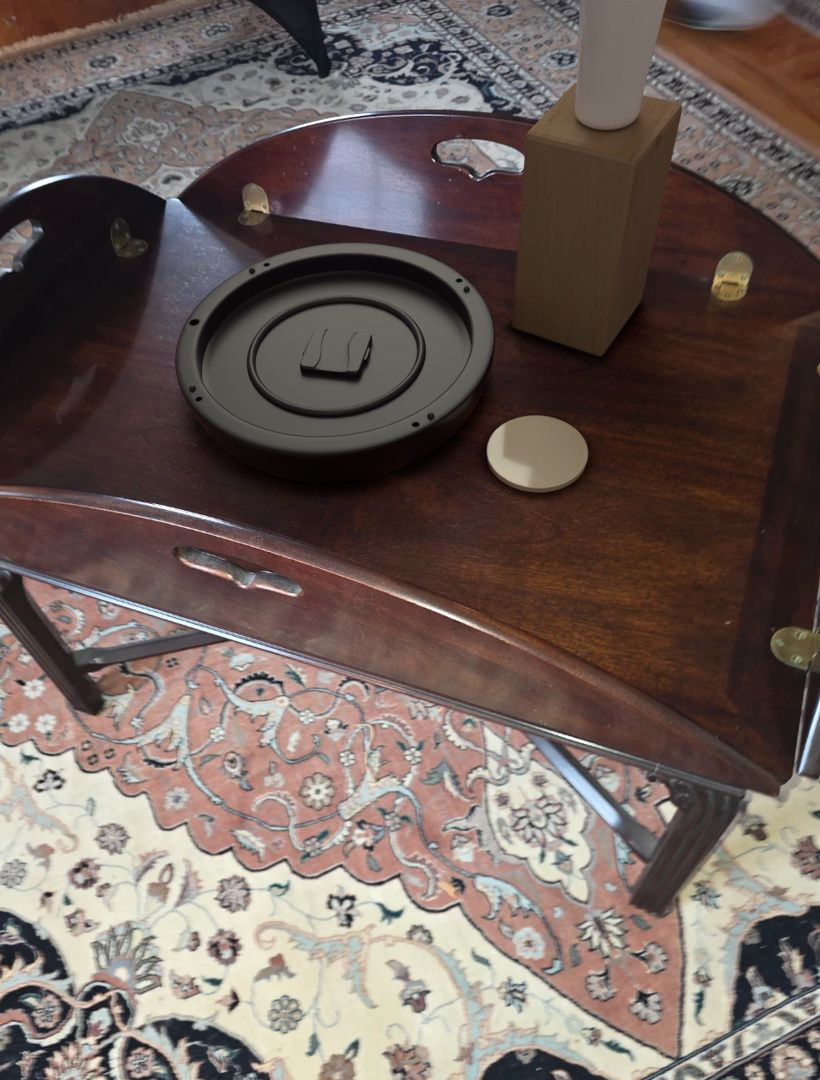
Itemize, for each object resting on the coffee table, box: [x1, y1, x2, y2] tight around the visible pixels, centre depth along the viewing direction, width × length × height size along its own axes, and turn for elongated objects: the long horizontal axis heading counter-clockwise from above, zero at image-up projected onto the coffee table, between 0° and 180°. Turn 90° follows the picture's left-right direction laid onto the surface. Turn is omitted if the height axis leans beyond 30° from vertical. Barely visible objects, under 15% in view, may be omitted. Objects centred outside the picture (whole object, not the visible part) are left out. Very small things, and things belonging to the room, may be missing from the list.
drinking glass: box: [575, 0, 668, 130], centre depth 67 cm, size 7×7×15 cm
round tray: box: [174, 242, 496, 484], centre depth 84 cm, size 30×6×30 cm
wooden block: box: [511, 81, 683, 357], centre depth 81 cm, size 10×10×20 cm
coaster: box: [485, 415, 589, 493], centre depth 79 cm, size 9×9×1 cm
